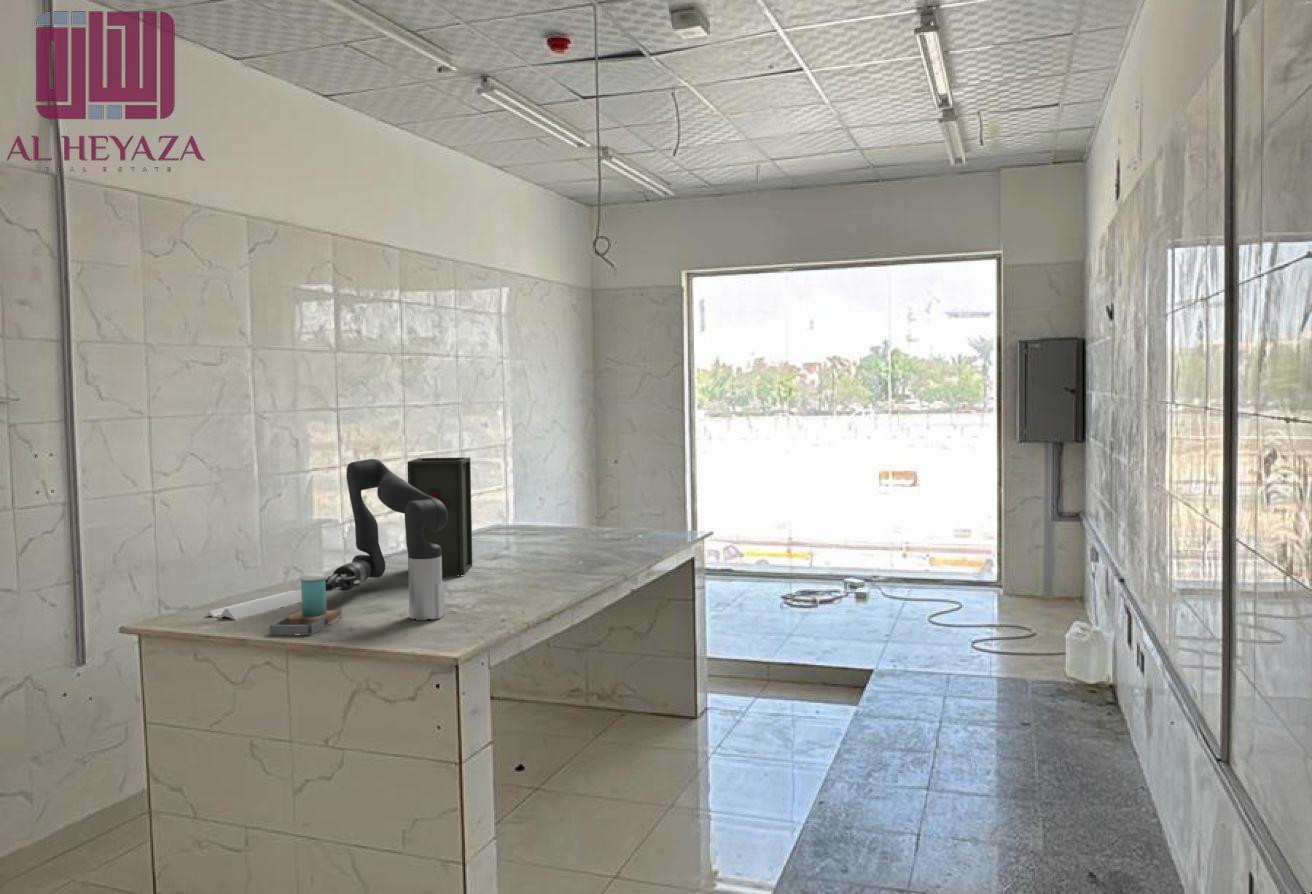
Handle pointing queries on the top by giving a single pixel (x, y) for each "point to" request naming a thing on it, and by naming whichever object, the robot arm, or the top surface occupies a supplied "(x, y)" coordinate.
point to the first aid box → (448, 507)
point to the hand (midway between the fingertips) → (327, 587)
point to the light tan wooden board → (313, 617)
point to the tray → (296, 627)
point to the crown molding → (258, 605)
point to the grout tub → (313, 594)
